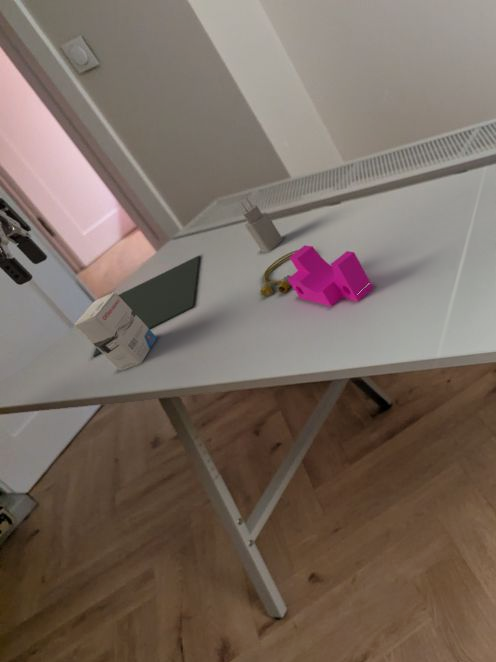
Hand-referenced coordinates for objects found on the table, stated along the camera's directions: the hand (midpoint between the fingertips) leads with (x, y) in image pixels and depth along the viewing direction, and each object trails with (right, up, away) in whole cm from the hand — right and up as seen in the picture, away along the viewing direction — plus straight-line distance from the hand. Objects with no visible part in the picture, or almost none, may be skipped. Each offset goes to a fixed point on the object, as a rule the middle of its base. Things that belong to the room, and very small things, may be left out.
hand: (34, 271), depth 85 cm
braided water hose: (+32, +3, +24) cm, 40 cm away
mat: (-3, -2, +38) cm, 39 cm away
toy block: (+45, -3, +10) cm, 46 cm away
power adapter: (+24, +11, +40) cm, 48 cm away
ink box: (+5, -14, +19) cm, 24 cm away
